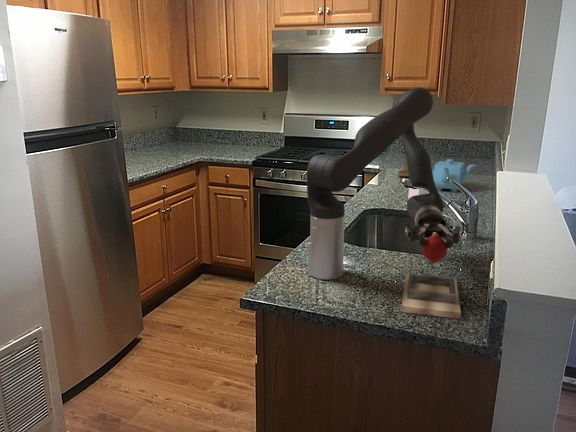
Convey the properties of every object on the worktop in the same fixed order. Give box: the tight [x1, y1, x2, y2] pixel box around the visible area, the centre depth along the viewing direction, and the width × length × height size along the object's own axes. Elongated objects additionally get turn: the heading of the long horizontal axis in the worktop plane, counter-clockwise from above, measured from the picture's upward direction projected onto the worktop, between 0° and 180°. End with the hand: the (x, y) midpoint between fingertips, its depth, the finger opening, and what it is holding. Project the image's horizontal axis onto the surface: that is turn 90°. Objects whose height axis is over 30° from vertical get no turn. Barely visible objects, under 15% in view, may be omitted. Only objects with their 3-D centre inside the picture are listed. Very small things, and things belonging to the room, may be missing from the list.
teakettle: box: [431, 158, 478, 193], centre depth 232 cm, size 19×19×15 cm
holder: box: [401, 273, 462, 320], centre depth 119 cm, size 13×20×4 cm, turn 164°
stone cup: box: [397, 159, 409, 178], centre depth 263 cm, size 15×12×15 cm
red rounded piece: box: [421, 232, 448, 265], centre depth 116 cm, size 6×6×8 cm
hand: (436, 243), depth 113 cm, fingers closed on red rounded piece, 5 cm apart
